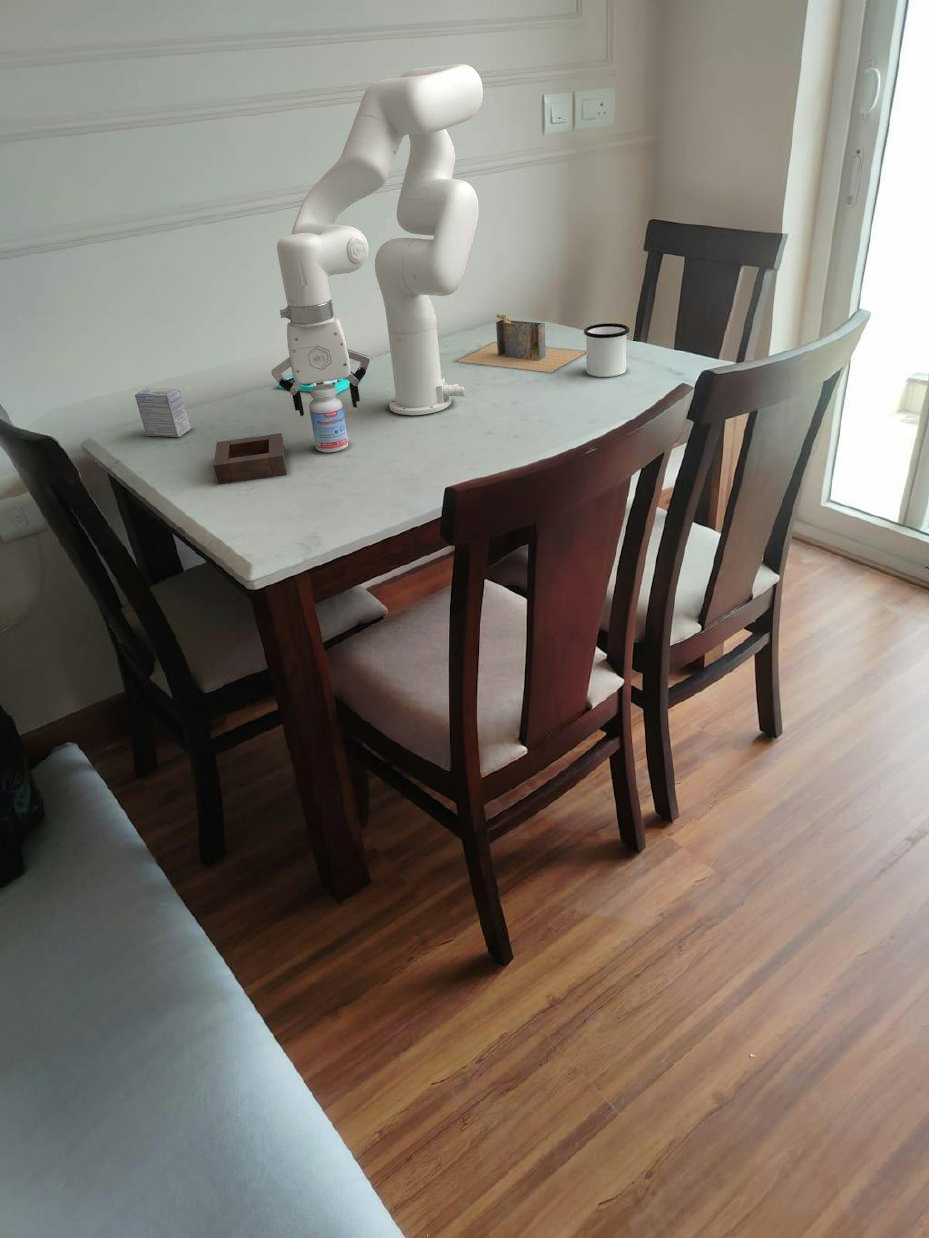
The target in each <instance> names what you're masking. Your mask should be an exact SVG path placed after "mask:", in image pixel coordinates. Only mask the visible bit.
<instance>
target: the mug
mask: <svg viewBox="0 0 929 1238" xmlns="http://www.w3.org/2000/svg"><path fill="white" fill-rule="evenodd" d="M629 333H630V326H628V325H627V324H623V323H617V322H616V323H615V322H606V323H605V322H604V323H603V322H602V323H597V324H591V325H588V326H587V327H585V328H584V329H583V335H584V336H585V337H586V343H585V344H586V373H587V375H589V376H592V377H595V378H613V377H618V376H621V375H623V374H625V372H626V371H627V340H628V339H627V337H628V336H627V335H628V334H629Z"/></svg>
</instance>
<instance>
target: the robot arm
mask: <svg viewBox="0 0 929 1238" xmlns="http://www.w3.org/2000/svg"><path fill="white" fill-rule="evenodd" d="M483 99H484V86H483V81H482V79H481V76H480V74H479V73H478V72H477V70H475V69H474V68H473V67H472V66H470V65H468V64H464V63H456V64H445V65H431V66H422V67H416V68H411V69H409V70H407V71H404V72H403V73H402V74H401V75H400V77H393V78H392V77H391V78H382V79H379V80H376V81H374V82H372V83H370V85H369V86H368V87H367V88H366V90H365V91H364V94H363V96H362V98H361V101H360V104H359V107H358V109H357V112H356V114H355V117H354V119H353V124H352V126H351V128H350V130H349V134H348V136H347V139H346V140H345V141H346V142H345V144H344V147H343V150H342V153H341V155H340V157H339V159H338V160H337V161H336V162H335V163H334V164H333V165H332V166H331V167H330V168H329V169H328V170H327V171H326V172H325V173H324V174H323V175H322V177H321V178H320V179H319V180H318V181H317V182H316V183H315V184H314V185H313V186H312V187H311V189H310V190H309V192H308V193H307V194H306V196H305V197H304V199H303V200H302V203H301V205H300V208H299V211H298V213H297V216H296V218H295V221H294V224H293V226H292V231H291V234H289V235H285V236H283V237H281V238H279V239H278V241H277V243H276V253H277V257H278V263H279V268H280V273H281V278H282V284H283V288H284V295H285V300H286V304H287V306H285V308H283V309H279V313H280V318H281V319H282V318H283V319H288V320H289V322H288V323H287V325H286V339H287V349H288V355H289V357H287V358H286V359H284V360H283V361H282V362H280V363H279V364H277V365H276V366H275V367H274V368H272V369H271V376H272V377H273V378H274V379H275V381H276V382H277V384H278V383H279V384H280V386H281V387H283V388H284V389H283V390H285V391H287V392H288V393H289V394H290V395H291V396H292V401H293V405H294V411H298V412H299V416H300V417H304V415H305V410H304V405H303V401H302V395H301V391H300V390H299V388H300V386H301V385H302V384H311V383H318V382H325V381H331V380H338V379H343V378H346V379H347V380H348V381H349V382H350V383H349V387H348V388H349V393H350V398H351V405H352V408H354V409H358V402H361V399H360V398H361V397H360V391H359V384H360V383H361V380H362V379H363V378H364V377H365V375H366V373H367V369H368V367H369V364H370V362H371V361H370V357H369V355H367V354H363V353H361V352H359V351H355V350H352V349H351V348H348V346H347V342H346V336H345V333H344V329H343V326H342V322H341V319H340V318H339V317H338V316H337V315H335V312H334V305H333V300H332V294H331V287H330V282H329V277H330V276H334V275H335V276H337V275H344V274H351V273H354V272H356V271H358V270H360V269H361V268H362V267H363V266H364V264H365V263H366V261H367V259H368V256H369V251H370V250H369V243H368V240H367V237H366V236H365V235H364V233H363V232H362V231H361V230H359V229H358V228H356V227H354V226H351V225H345V224H334V223H335V222H336V221H337V219H338V218H339V217H340V215H342V213H343V212H344V211H345V210H346V209H348V208H349V207H351V206H352V205H353V204H355V203H357V202H358V201H360V200H362V199H365V198H366V197H369V196H370V195H372V194H373V193H376V192H377V191H378V190H380V189H381V188H382V187H383V186H384V185H386V183H387V181H388V178H389V175H390V173H391V170H392V167H393V164H394V161H395V159H396V157H397V154H398V151H399V148H400V145H401V144H402V141H403V139H404V137H405V136H408V139H409V144H410V145H409V146H410V147H409V156H408V160H407V165H406V168H405V172H404V176H403V181H402V183H401V188H400V193H399V197H398V201H397V207H396V219H397V223H398V225H399V226H400V228H401V229H402V230H404V232H407V233H409V234H413V235H418V236H433V239H431V238H430V239H428V238H424V239H423V238H417V237H416V238H414V237H397V238H391V239H389V240H386V241H385V242H384V243H383V244H382V245H380V246H379V248H378V250H377V252H376V254H375V258H374V271H375V277H376V280H377V284H378V286H379V289H380V292H381V297H382V300H383V304H384V310H385V318H386V324H387V325H386V326H387V334H388V341H389V350H390V357H391V358H390V359H391V367H392V376H393V384H394V393H395V396H394V397H392V398H391V399H390V400H389V402H388V405H389V409H390V411H391V412H393V413H395V414H398V415H402V416H423V415H429V414H434V413H438V412H441V411H443V410H446V409H447V408H448V407H450V406H451V404H452V397H465V393H466V391H465V390H466V389H465V386H460V383H456V384H455V383H454V384H448V383H446V381H445V377H442V371H441V369H442V368H441V360H440V359H441V358H440V348H439V347H440V346H439V338H438V337H439V335H438V327H437V326H438V325H437V324H438V322H437V316H436V315H437V314H436V311H435V308H434V305H433V301H432V299H431V298H430V296H433V297H434V296H435V297H445V296H450V295H452V294H454V293H455V292H456V291H457V290H458V288H459V287H460V285H461V284H462V281H463V279H464V275H465V273H466V270H467V265H468V261H469V259H470V256H471V255H470V254H471V251H472V247H473V242H474V239H475V235H476V231H477V228H478V223H479V216H480V215H479V214H480V209H479V208H480V207H479V199H478V196H477V193H476V190H475V188H474V187H473V186H472V185H471V184H470V183H468V181H465V180H462V179H460V178H453V174H454V169H455V166H456V165H455V164H456V151H455V147H454V144H453V141H452V139H451V137H450V134H449V133H448V130H447V129H449V128H451V127H454V126H457V125H460V124H463V123H464V122H467V121H469V120H471V119H472V118H474V117H475V116H476V115H477V113H478V112H479V110H480V108H481V106H482V104H483ZM350 359H351V360H353V361H356V362H359V363H360V364H359V366H358V368H357V369H356V371H355V372H353V371H352V370H351V361H350ZM290 368H291V374H292V376H293V378H294V379H293V381H292V382H289V381H288V380H287V378H285V377H284V376H283V373H284V372H286V371H287V370H289V369H290Z"/></svg>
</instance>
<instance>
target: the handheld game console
mask: <svg viewBox="0 0 929 1238" xmlns="http://www.w3.org/2000/svg"><path fill="white" fill-rule="evenodd" d="M286 379H287V380H288V381H289V382H292V381H293V379H294V378H293V375H292V376H289V377H287V378H286ZM349 383H350V382H349V381H348V380H347V379H346V378H343V379H338V380H331V381H325V382H318V383H311V384H302V385H301V386H300V388H299V390H300V392H309V393H311V391H310V389H311V388H312V387H313V386H316V385H320V384H334V385H335V386H336V389H337V394H339V393H340V392H343V391H345V390H346V389H349V388H350V387H349ZM277 386H278V389H281V390H285V389H284V388H283V387H281V386H280V384H279V383H278V382H277Z"/></svg>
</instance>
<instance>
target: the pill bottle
mask: <svg viewBox="0 0 929 1238" xmlns="http://www.w3.org/2000/svg"><path fill="white" fill-rule="evenodd" d="M310 391H311V392H310V396H311V399H312V400H311V401H310V402H309V406H308V408H309V414H310V421H311V427H312V432H313V433H312V434H313V439H314V445H315V448H316V450H318V451H319V452H321V453H335V452H339V451H343V450H344V449H346V448H347V447H348V445H349V439H348V431H347V425H346V424H347V423H346V418H345V417H346V416H345V410H344V404H343V403H344V402H343V401H342V400H341V398H339V397H338V396H337V395H338V393H337V389H336V386H335V385H334V384H320V385H316V386H313V387H312V388H311V389H310Z"/></svg>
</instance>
